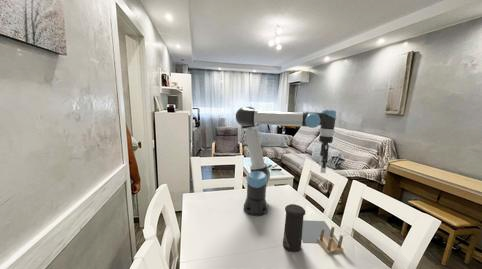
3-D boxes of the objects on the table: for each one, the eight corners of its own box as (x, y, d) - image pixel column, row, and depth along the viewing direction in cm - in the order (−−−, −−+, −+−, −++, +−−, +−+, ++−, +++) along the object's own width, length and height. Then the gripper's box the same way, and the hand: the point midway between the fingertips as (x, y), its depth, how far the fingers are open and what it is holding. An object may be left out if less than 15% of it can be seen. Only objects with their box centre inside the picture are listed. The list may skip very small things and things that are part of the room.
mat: (303, 243, 94) (303, 242, 94) (293, 221, 112) (293, 220, 112) (340, 244, 94) (340, 243, 94) (324, 221, 112) (324, 221, 112)
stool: (327, 254, 88) (330, 240, 86) (317, 241, 95) (319, 228, 93) (342, 251, 90) (345, 237, 88) (331, 238, 97) (333, 225, 95)
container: (287, 237, 98) (290, 200, 95) (304, 245, 93) (308, 207, 89) (279, 246, 92) (281, 207, 88) (297, 256, 86) (301, 215, 83)
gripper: (336, 139, 104) (330, 177, 108) (330, 133, 128) (326, 164, 131) (321, 138, 107) (316, 175, 110) (318, 132, 130) (314, 162, 134)
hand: (321, 169), depth 121 cm, fingers open, 13 cm apart
